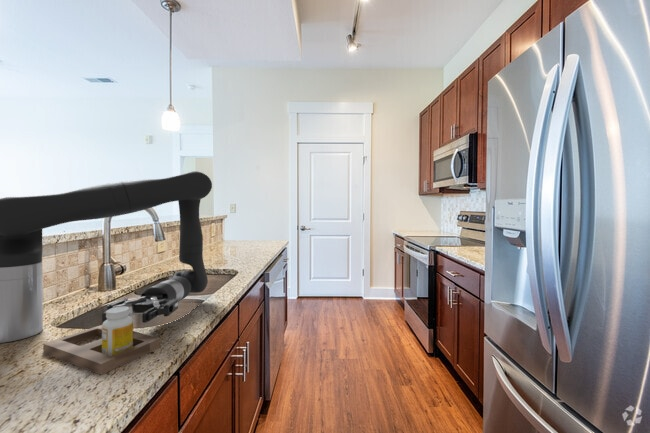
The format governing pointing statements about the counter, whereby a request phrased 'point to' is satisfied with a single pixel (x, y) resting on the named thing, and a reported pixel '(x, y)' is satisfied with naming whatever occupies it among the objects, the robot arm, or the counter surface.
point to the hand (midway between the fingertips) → (124, 318)
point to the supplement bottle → (117, 331)
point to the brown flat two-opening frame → (98, 350)
